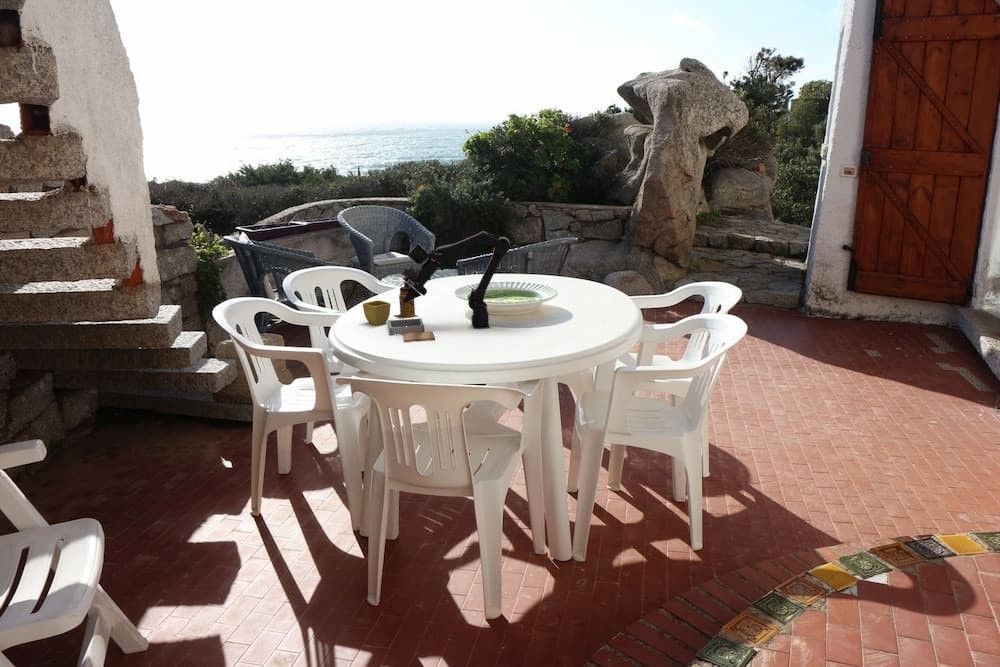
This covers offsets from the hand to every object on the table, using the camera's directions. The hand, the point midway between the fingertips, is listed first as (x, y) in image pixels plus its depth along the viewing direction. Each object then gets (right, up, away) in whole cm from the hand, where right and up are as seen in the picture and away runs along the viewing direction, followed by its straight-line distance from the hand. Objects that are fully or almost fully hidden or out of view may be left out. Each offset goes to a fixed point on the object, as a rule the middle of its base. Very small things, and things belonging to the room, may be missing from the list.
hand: (401, 300), depth 299 cm
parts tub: (+1, -12, +4) cm, 13 cm away
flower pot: (-12, -9, +15) cm, 21 cm away
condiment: (+1, -6, +2) cm, 7 cm away
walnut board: (+8, -15, -8) cm, 19 cm away
